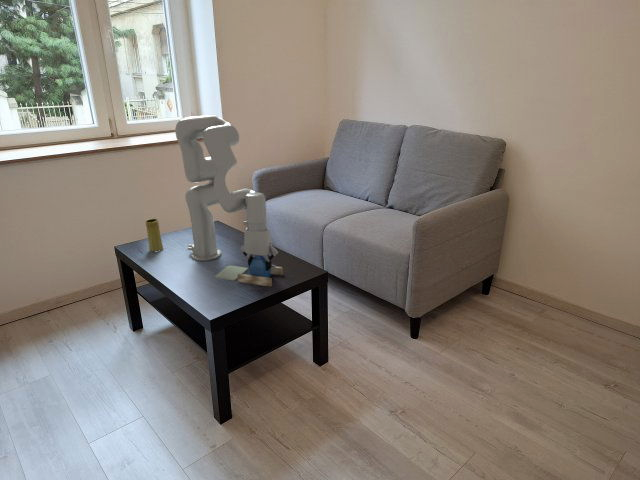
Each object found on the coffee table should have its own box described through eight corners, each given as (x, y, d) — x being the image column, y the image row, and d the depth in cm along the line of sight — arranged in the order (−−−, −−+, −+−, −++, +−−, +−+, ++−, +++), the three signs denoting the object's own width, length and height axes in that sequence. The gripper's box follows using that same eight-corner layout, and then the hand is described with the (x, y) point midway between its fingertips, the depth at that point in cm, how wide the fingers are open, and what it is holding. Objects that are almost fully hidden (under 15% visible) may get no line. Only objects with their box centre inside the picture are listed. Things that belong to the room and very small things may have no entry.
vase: (166, 248, 204) (161, 219, 199) (155, 253, 199) (150, 223, 194) (157, 246, 207) (152, 217, 202) (146, 250, 203) (141, 221, 197)
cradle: (237, 281, 172) (237, 273, 171) (251, 269, 182) (250, 261, 181) (270, 286, 168) (270, 278, 166) (282, 274, 178) (282, 265, 176)
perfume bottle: (265, 281, 171) (263, 253, 167) (250, 280, 173) (248, 252, 168) (270, 275, 177) (268, 247, 173) (255, 273, 178) (253, 246, 174)
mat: (214, 277, 175) (214, 276, 175) (228, 266, 185) (228, 265, 185) (234, 280, 173) (234, 279, 172) (247, 269, 182) (247, 268, 182)
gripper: (231, 226, 166) (235, 269, 173) (273, 231, 161) (276, 275, 167) (241, 220, 173) (244, 261, 179) (282, 224, 167) (284, 267, 174)
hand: (260, 268), depth 173 cm, fingers closed on perfume bottle, 6 cm apart
